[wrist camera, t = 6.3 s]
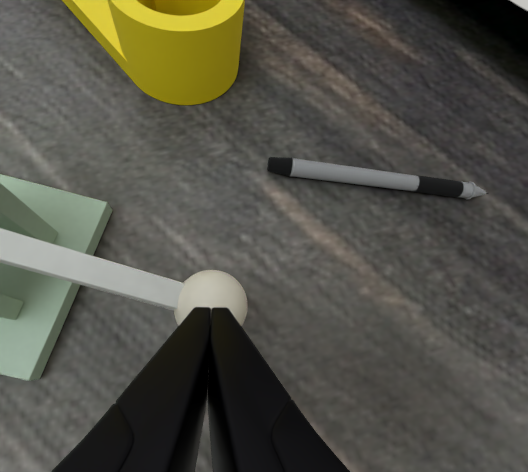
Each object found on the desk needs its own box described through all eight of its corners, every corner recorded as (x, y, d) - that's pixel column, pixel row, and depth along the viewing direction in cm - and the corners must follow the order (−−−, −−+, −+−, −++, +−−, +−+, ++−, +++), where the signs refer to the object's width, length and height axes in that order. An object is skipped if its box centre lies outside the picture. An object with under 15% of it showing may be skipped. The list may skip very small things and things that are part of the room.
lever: (242, 286, 18) (265, 276, 15) (226, 351, 16) (247, 353, 14) (-108, 178, 14) (-169, 135, 11) (-162, 252, 12) (-247, 226, 10)
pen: (267, 161, 24) (270, 150, 23) (480, 189, 26) (494, 181, 25) (266, 177, 24) (269, 167, 23) (483, 205, 26) (497, 197, 25)
